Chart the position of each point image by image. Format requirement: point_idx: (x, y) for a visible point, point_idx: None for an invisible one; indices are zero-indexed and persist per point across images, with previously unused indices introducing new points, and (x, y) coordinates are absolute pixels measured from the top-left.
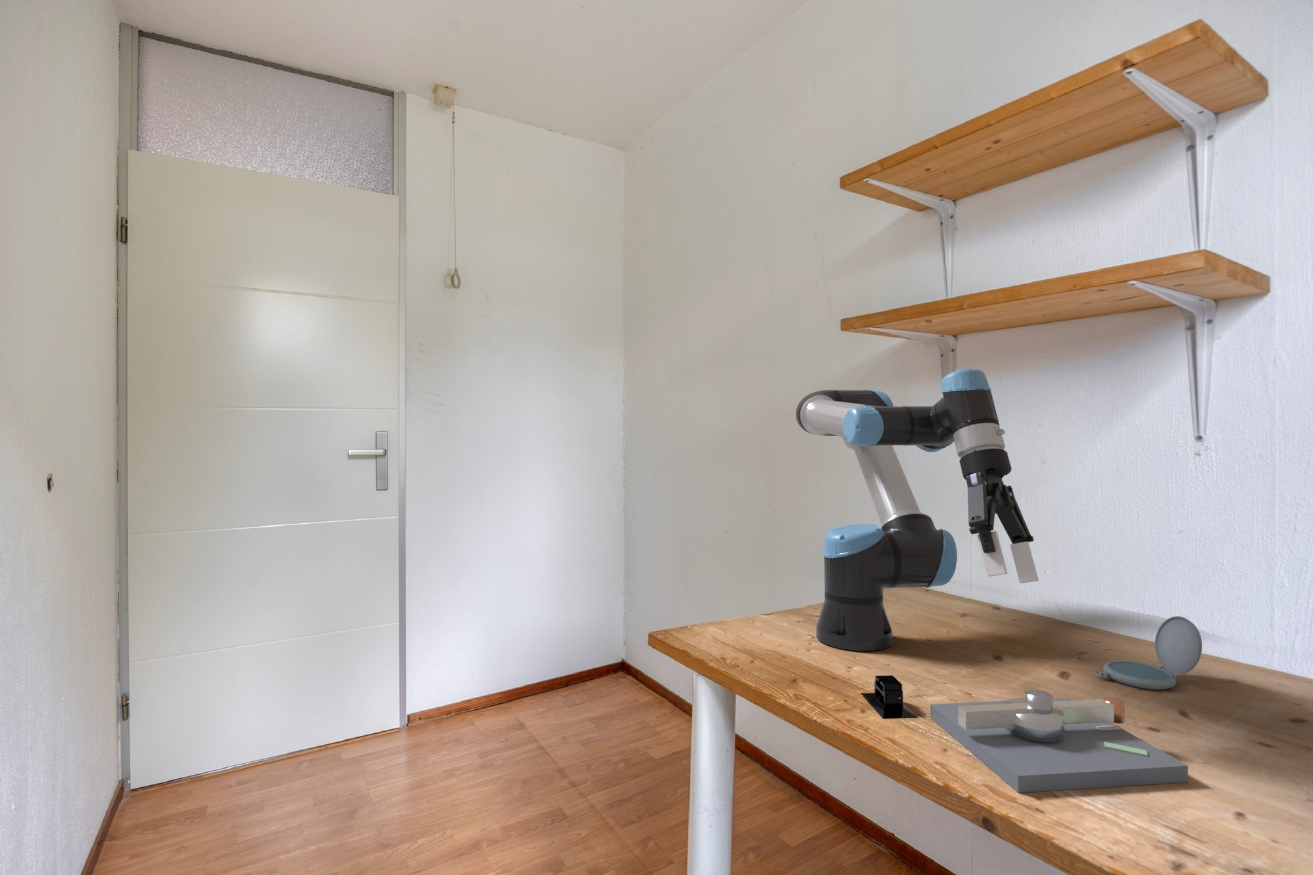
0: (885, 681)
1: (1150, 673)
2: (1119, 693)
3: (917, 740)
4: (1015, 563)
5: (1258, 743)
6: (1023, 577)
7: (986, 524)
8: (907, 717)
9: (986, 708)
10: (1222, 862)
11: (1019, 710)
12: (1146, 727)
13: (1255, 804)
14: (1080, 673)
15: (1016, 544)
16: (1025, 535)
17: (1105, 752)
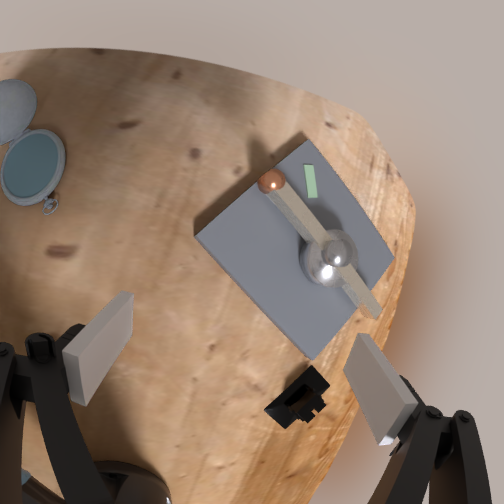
0: (317, 408)
1: (31, 152)
2: (93, 184)
3: None
4: (111, 363)
5: (177, 78)
6: (127, 330)
7: (459, 410)
8: (317, 372)
9: (368, 296)
10: (385, 152)
11: (353, 268)
12: (193, 159)
13: (307, 110)
14: (43, 232)
15: (85, 386)
16: (47, 370)
17: (325, 197)
